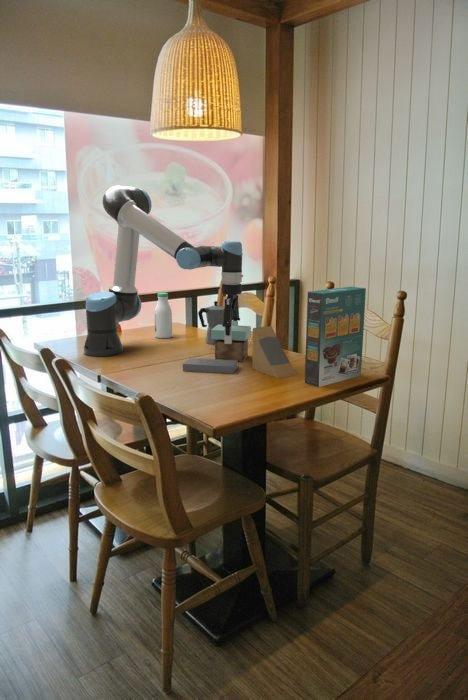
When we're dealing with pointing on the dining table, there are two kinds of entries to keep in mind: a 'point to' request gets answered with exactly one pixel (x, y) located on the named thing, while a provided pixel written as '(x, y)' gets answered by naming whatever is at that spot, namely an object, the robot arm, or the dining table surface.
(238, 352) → the crate
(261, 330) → the sandwich container
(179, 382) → the dining table surface
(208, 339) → the coffeepot
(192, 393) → the dining table surface
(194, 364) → the board
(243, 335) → the lid
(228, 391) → the dining table surface
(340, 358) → the cake mix box
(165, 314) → the milk bottle
